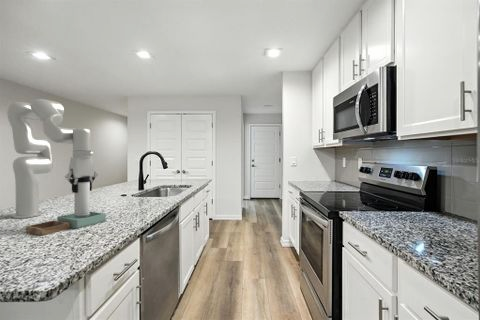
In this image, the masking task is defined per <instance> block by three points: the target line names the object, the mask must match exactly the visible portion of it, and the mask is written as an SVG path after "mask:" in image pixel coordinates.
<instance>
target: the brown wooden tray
mask: <svg viewBox="0 0 480 320" xmlns="http://www.w3.org/2000/svg"><path fill="white" fill-rule="evenodd" d="M66 229H67V230H70V223H66V222H60V221H57V220H56V219H55V220H54V219H53V220H49V221H44V222H40V223H36V224H31V225H26V226H25V230H26V231H25V233H28V234H33V235H37V236H47V235H49V234H50V235H51V234H54V233H59V232H64V231H66Z"/></svg>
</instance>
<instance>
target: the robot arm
mask: <svg viewBox="0 0 480 320" xmlns="http://www.w3.org/2000/svg"><path fill="white" fill-rule="evenodd" d="M6 113H7V114H6V115H7V119H8V122H9V124H10V127H11V131H12V132H11V133H12V140H13V146H14V151H15V152H16V153H17V154H20V155H33V156H20V157H17V158H15V159H14V160H13V162H12V169H13V173H14V180H15V183H14V184H15V208H14V211H15V213H13V214H12V215H11V218H13V219H26V218H27V219H28V218H34V217H38V216H41V215H43V212H42V211H40V207H39V205H40V203H39V201H40V200H39V199H40V198H39V197H40V196H39V194H40V193H39V190H40V189H39V187H40V186H39V181H38V178H37V177H36V175H40V174H47V173H48V174H49V173H50V172H52V170H53V167H54V161H53V155H52V147H51V144H50V142H49V141H52V142H53V143H55V144H65V145H67V144H68V145H70V144H71V145H72V157H71V156H70V160H69V162H68V163H69V164H68V173H67V174H66V175H65V176H64V178H65V179H66V180H67V181H68V182H69V183H70V184H71V192H72V193H73V194H75V193H78V184H77V181H78V178H80V177H88V176H90V192H92V190H93V183H94V181H95V179H96V178H97V177H98V173H97V172H96V171H95V167H94V160H93V157H92V155H93V154H94V152H93V151H92V131H91V129H89V128H84V127H83V128H79V127H76V128H71V127H70V128H69V127H60V125H61V124H62V123H63V120H64V117H63V116H64V114H65V108H64V105H63V104H62V103H60V102H58V101H55V100H50V99H44V98H36V99H35V98H34V99H33V100H32V101H31V102H30V103H29V102H25V101H23V102H22V101H14V102H11V103H10V104H9V105H8V107H7V112H6ZM27 120H31V121H32V120H33V121H41V122H42V131H43V133H44V135H45V136H46V137H47V138H48V139H50V140H48V139H46V138H45V137H38V136H34V130H33V127H32V126H31V124H30V123H29V122H28V121H27ZM34 155H37V156H34Z"/></svg>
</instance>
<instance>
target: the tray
mask: <svg viewBox="0 0 480 320" xmlns="http://www.w3.org/2000/svg"><path fill="white" fill-rule="evenodd" d="M89 213H90V216H88V217H84V218H75V217H74V214H75V213H74V212H72V213H69V214H65V215H59V216H57V217H56V221H60V222H66V223H70V228H71V229H74V228H76V229H75V230H79V228H80V229H83V228H87V227H91V226H94V224H95V225H97V224H98V223H99V224H103V223H106V222H107V213H104V212H97V211H91V210H90V212H89ZM90 225H91V226H90ZM82 227H83V228H82Z"/></svg>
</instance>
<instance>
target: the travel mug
mask: <svg viewBox="0 0 480 320" xmlns="http://www.w3.org/2000/svg"><path fill="white" fill-rule="evenodd" d="M77 184H78V193H74V212H73V213H75V214H74V217H75V218H84V217H88V216H90V213H89V212H90V211H91V208H90V206H91V205H90V199H91V197H90V196H91V193H90V192H91V191H90V176H88V177H80V178H78V181H77Z"/></svg>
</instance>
